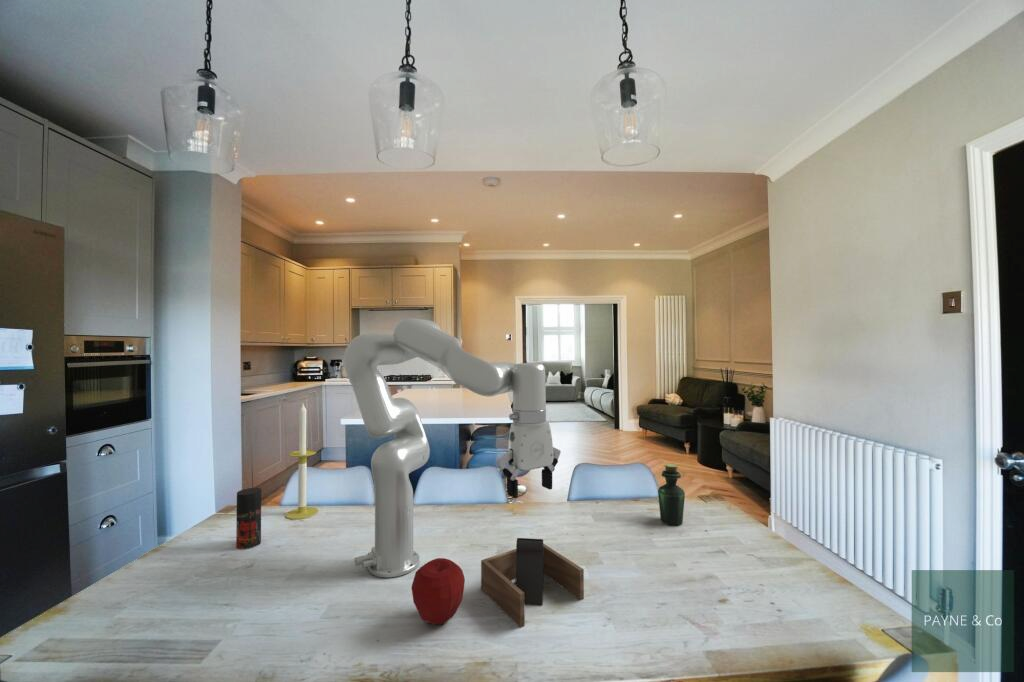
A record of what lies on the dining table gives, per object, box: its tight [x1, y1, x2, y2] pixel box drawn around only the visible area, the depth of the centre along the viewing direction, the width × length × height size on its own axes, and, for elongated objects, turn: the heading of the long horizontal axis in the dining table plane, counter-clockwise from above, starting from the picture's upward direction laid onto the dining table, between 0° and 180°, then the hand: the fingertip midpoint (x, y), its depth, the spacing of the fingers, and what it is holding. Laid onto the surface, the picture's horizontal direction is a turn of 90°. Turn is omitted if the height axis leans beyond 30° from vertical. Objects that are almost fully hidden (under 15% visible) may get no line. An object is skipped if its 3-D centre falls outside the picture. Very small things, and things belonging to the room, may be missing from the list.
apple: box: [411, 557, 466, 626], centre depth 85 cm, size 11×11×12 cm
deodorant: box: [235, 487, 262, 550], centre depth 117 cm, size 6×6×15 cm
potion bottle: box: [657, 463, 686, 527], centre depth 132 cm, size 8×8×18 cm
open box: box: [480, 543, 585, 628], centre depth 93 cm, size 17×16×6 cm
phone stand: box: [515, 537, 545, 606], centre depth 94 cm, size 9×6×12 cm, turn 173°
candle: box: [284, 403, 319, 521], centre depth 139 cm, size 10×10×38 cm
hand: (530, 492), depth 94 cm, fingers open, 9 cm apart
